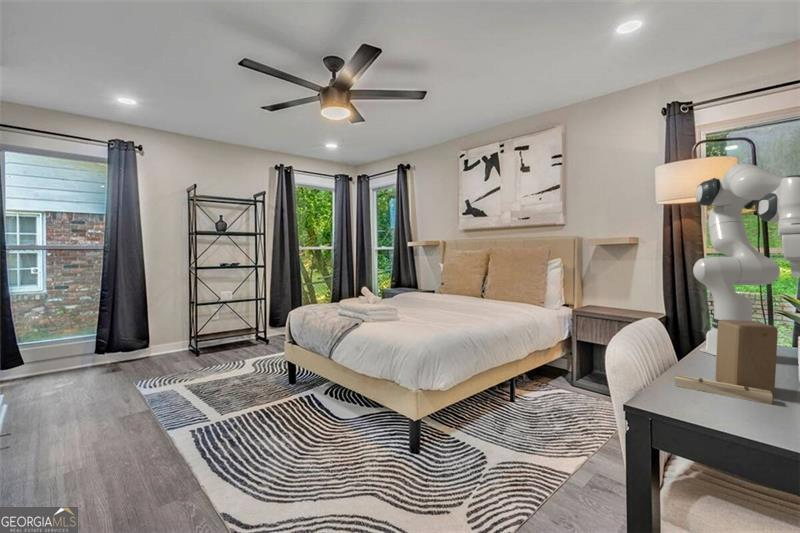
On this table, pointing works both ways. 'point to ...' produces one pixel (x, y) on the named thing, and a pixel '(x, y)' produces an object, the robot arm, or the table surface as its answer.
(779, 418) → the table surface
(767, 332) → the wooden block
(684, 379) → the maple board
